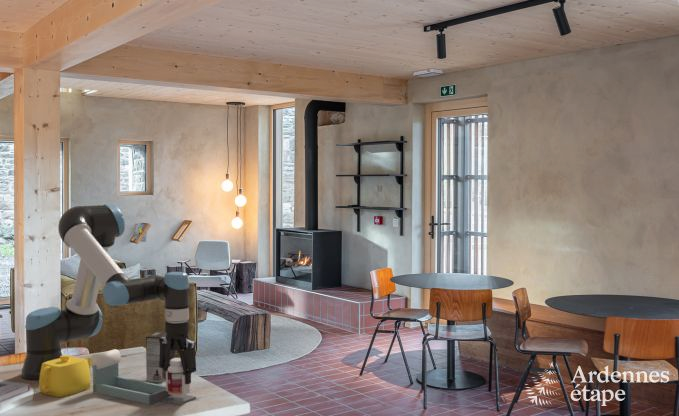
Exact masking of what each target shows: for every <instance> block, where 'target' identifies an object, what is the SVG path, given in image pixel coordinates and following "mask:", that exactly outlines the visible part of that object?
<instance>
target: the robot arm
mask: <svg viewBox="0 0 679 416" xmlns="http://www.w3.org/2000/svg"><path fill="white" fill-rule="evenodd" d="M125 223H126V222H125V217H124V215H123V212H122V211H121V209H120V208H119V207H118V206H115V205H112V204H102V205H99V204H98V205H77V206H72V207H71V208H68V209H67V210H66V211H65V212H64V213H63V214H62V215H61V217H60V219H59V221H58V235H59V237H60V239H61V240H62V243H64V244H65V246H66V247H67V248H70V249H73V251H74V252H75V253H76V254H77V256H78V257H79V259H80V261H79V265H78V269H77V275H76V278H75V283H74V286H73V291H72V295H71V298H69V299H68V300H67V301H66V303H65V307H64V309H60V308H59V307H57V306H50V307H43V308H38V309H35V310H33V311H31V312H29V314H27V315H26V318H25V326H24V328H25V338H26V339H25V343H26V344H25V345H26V347H25V348H26V349H25V351H26V354H25V358H24V362H23V367H22V368H21V378H23V379H25V380H35V381H39V378H40V371H41V366H42V363H44V362H47V361H51V360H54V359H58V358H60V356H62V355H63V353H62V343H65V342H71V341H76V340H81V339H83V340H84V339H88V338H91V337H94V336H96V335H97V334H98V333H99V332H100V331H101V328H102V325H103V313H102V310H101V309H100V306H99V305H98V303H97V298H98V295H99V290H100V285H102V286H103V288H102V297H103V299H104V302H105V303H106V304H107V305H109V306H112V307H113V306H124V305H130V304H135V303H141V302H148V301H154V300H160V301H164V320H165V323H164V331H165V333H166V334H167V335H166V337H162V338H159V342H160V358H159V367H160V368H163V370H164V375H165V377H164V378H165V380H166V381H165V386H166V391H167V392H168V367H169V366H171V365H170V359H172V358H175V354H176V352H177V354H178V355H179V358H180V359H181V363H182V367H183V371H184V373H183V374H182V395H189V394H190V393H191V392H190V390H191V389H190V387H191V386H190V384H191V383H192V373H195V372H197V362H196V344H197V342H196V341H195V340H194V341H193V340H190V339H189V332H190V321H189V319H190V309H189V308H190V306H189V305H190V304H189V303H190V283H189V281H190V280H189V275H188V273H186V272H183V271H170V272H167V273H165V274H164V276H162V275H158V274H148V275H145V276H144V277H140V278H139V277H138V278H132V279H131V278H129V277H128V276H127V275H126V274H125V273H124V271H123V270H122V269H121V268H120V266H119V265H118V264H117V263H116V261H114V259H113V258H112V256H110V254H109V253H108V251H109V248H111V247H113V246H114V245H115V240H116V238H119V237H122V235H123V234H124V232H125V228H126V224H125Z"/></svg>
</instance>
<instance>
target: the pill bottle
mask: <svg viewBox="0 0 679 416" xmlns="http://www.w3.org/2000/svg"><path fill="white" fill-rule="evenodd" d="M170 365H171V366H169V367H168V394H170V395H173V396H179V395H182V374H183V373H184V371H183V367H182V363H181V359H180V357H174V358H172V359H170Z"/></svg>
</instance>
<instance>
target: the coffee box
mask: <svg viewBox="0 0 679 416" xmlns="http://www.w3.org/2000/svg"><path fill="white" fill-rule="evenodd" d="M166 335H167V334H166V333H165V330H164V331H161V330H160V331H154V332H153V333H151V334H149V335H146V336H145V360H146V362H145V368H146V382H148V383H164V382H166V380H165V378H164V377H165V375H164V370H163V368H160V367H159V358H160V342H159V338H162V337H166Z"/></svg>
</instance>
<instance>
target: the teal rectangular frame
mask: <svg viewBox="0 0 679 416" xmlns="http://www.w3.org/2000/svg"><path fill="white" fill-rule="evenodd" d="M121 360H122V354H121V352H120V351H119V350H118V349H116V348H114V349H111V350H107V351H103V352H99V353H95V354H93V355H91V356H90V368H92V393H95V394H99V395H104V396H109V397H112V398H113V397H114V398H118V399H123V400H127V401H130V402H131V401H132V402H135V403H136V402H137V403H141V404H145V405H149V406H152V405H155V404H157V403H159V402H160V399H163V398H165V397H168V396H171V395H170V394H168V392H167V391H166V385H162V384H159V383H158V384H157V383H154V382H147V381H143V380H137V379H132V378H127V377H122V376H119V363H120V362H122V361H121ZM160 403H161V402H160Z"/></svg>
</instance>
